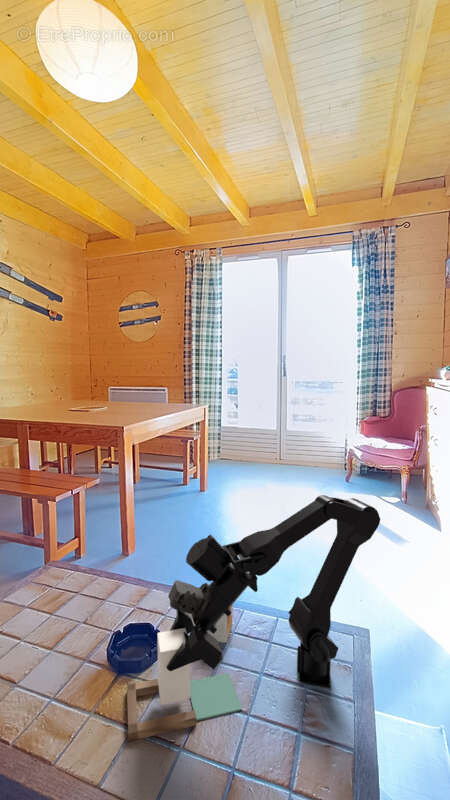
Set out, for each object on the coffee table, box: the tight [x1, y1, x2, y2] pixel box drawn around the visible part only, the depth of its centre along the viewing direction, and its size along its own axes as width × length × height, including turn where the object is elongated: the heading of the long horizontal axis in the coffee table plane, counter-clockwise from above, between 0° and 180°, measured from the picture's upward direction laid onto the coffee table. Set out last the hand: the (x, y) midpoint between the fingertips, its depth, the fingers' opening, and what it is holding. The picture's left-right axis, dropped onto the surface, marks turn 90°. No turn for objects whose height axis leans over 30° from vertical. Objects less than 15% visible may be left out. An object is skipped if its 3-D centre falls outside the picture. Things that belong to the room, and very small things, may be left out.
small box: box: [207, 603, 234, 644], centre depth 93 cm, size 8×6×10 cm
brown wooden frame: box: [126, 678, 197, 742], centre depth 71 cm, size 12×11×2 cm
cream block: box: [157, 628, 191, 706], centre depth 71 cm, size 6×6×10 cm
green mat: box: [189, 672, 243, 722], centre depth 73 cm, size 9×9×1 cm
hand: (166, 658), depth 71 cm, fingers closed on cream block, 5 cm apart
